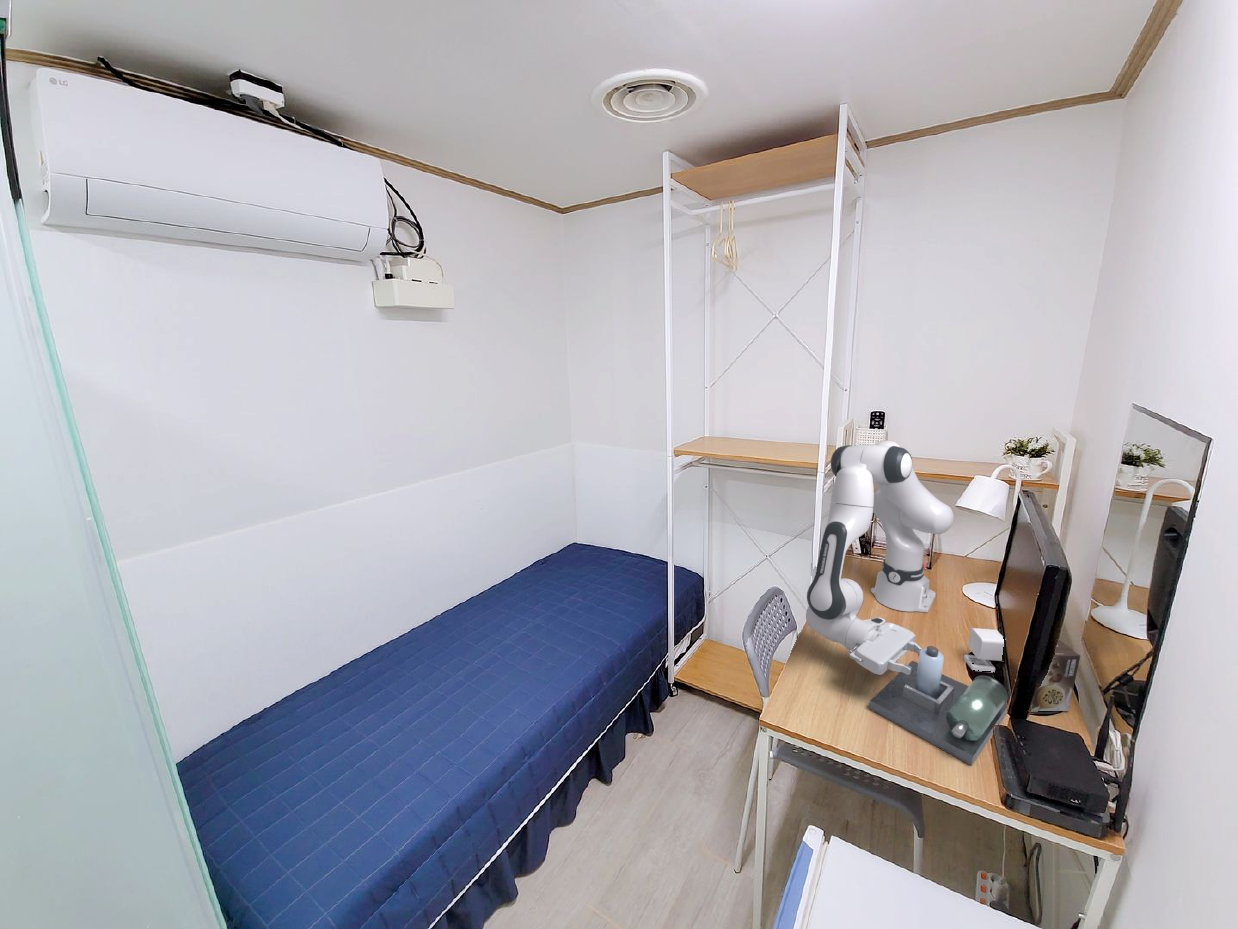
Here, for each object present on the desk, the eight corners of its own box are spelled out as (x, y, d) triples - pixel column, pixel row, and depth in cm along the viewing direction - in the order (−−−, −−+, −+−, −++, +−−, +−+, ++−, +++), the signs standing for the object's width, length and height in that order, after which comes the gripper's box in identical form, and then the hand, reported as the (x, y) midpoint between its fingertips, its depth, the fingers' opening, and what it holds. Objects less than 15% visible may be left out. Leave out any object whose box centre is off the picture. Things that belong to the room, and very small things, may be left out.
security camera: (1002, 674, 134) (1008, 642, 132) (973, 671, 136) (978, 639, 133) (990, 659, 140) (995, 628, 138) (962, 657, 142) (967, 626, 139)
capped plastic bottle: (918, 686, 127) (925, 640, 124) (940, 696, 124) (948, 649, 120) (910, 695, 124) (917, 648, 121) (932, 706, 121) (940, 658, 117)
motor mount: (911, 668, 138) (915, 638, 135) (1007, 713, 121) (1014, 679, 118) (869, 709, 124) (873, 676, 121) (971, 766, 107) (978, 729, 104)
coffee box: (1048, 694, 127) (1060, 639, 123) (1068, 713, 120) (1082, 655, 116) (1011, 694, 127) (1022, 639, 123) (1030, 712, 121) (1042, 655, 117)
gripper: (845, 643, 127) (902, 670, 117) (882, 614, 140) (936, 636, 129) (843, 664, 129) (899, 692, 118) (880, 634, 141) (933, 657, 131)
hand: (919, 663), depth 124 cm, fingers open, 8 cm apart
